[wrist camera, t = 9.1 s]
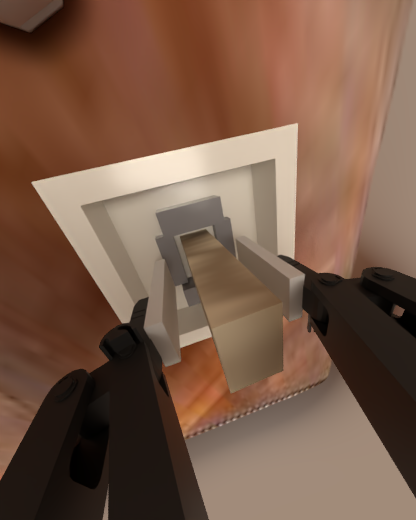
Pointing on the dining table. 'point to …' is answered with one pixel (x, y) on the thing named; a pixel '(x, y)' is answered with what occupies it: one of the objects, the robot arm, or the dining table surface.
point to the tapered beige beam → (236, 311)
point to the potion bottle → (28, 13)
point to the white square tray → (177, 214)
